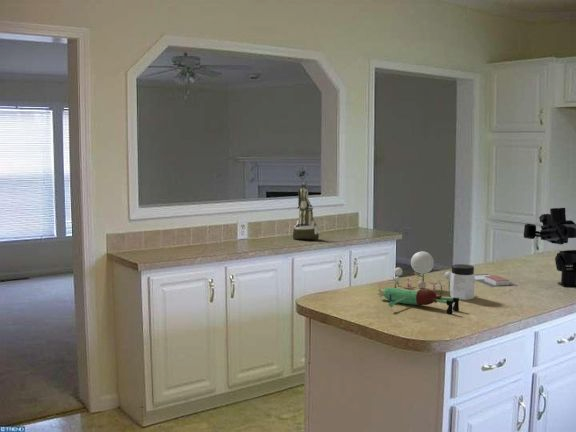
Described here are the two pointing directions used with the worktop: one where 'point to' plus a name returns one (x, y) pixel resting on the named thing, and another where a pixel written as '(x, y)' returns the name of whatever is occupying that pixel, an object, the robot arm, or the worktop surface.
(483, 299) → the worktop surface
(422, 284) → the figurines
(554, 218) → the robot arm
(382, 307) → the worktop surface
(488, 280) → the card deck
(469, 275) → the jar
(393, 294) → the toy
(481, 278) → the mat
